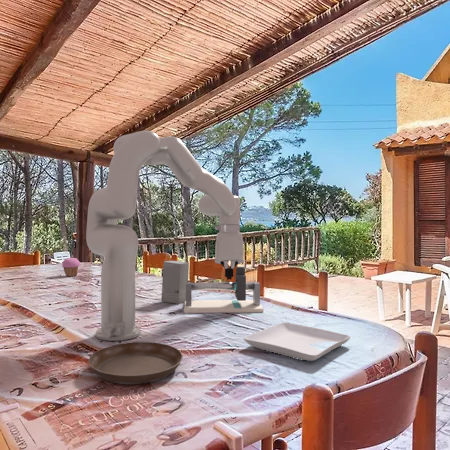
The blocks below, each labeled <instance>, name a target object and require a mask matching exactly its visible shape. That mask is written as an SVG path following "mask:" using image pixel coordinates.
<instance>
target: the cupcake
mask: <svg viewBox="0 0 450 450" xmlns="http://www.w3.org/2000/svg"><path fill="white" fill-rule="evenodd" d="M61 266H62V268H63V271H64V274H65V276H67V277H76V276H77V275H78V271H79V267H80V266H81V262H80V261H79V259H78V258H77V257H68V258H65V259H64V260H63V262H62V264H61Z"/></svg>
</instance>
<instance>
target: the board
mask: <svg viewBox="0 0 450 450" xmlns="http://www.w3.org/2000/svg"><path fill="white" fill-rule="evenodd" d="M186 313H187V314H196V313H197V314H199V313H200V314H203V313H204V314H205V313H206V314H207V313H209V314H211V313H212V314H214V313H221V314H223V313H264V308H263V305H261V303H260V305H255V306H254V304H253V299H246V301H237V299H230V300H229V299H225V300H224V299H223V300H222V299H219V300H216V299H215V300H210V299H209V300H208V299H207V300H206V299H205V300H192V304H191V306H186V301H185V302H184V307H183V314H186Z"/></svg>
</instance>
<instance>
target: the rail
mask: <svg viewBox="0 0 450 450" xmlns="http://www.w3.org/2000/svg"><path fill="white" fill-rule="evenodd" d="M235 290H237V282H235V281H233V282H232V281H231V282H230V281H229V282H227V281H226V282H225V281H223V282H212V281H211V282H208V281H207V282H192V281H188V282H186V306H191V304H192V301H193V300H192V296H193V295H192V294H193V293H192V291H235ZM246 291H252V300H253V304H254V306H255V305H260V304H261V283H260V282H259V281H246Z"/></svg>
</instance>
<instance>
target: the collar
mask: <svg viewBox="0 0 450 450" xmlns="http://www.w3.org/2000/svg"><path fill="white" fill-rule="evenodd" d="M234 273H235V274H234V275H235V276H234V278H235V279H234V280H235V281H234V282H237V290H234V292H235V293H234V295H235V298H236V300H237V301H246V300H247V299H246V298H247V295H246V294H247V290H246V282H247V276H246V267H245V266H235V272H234Z"/></svg>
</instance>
